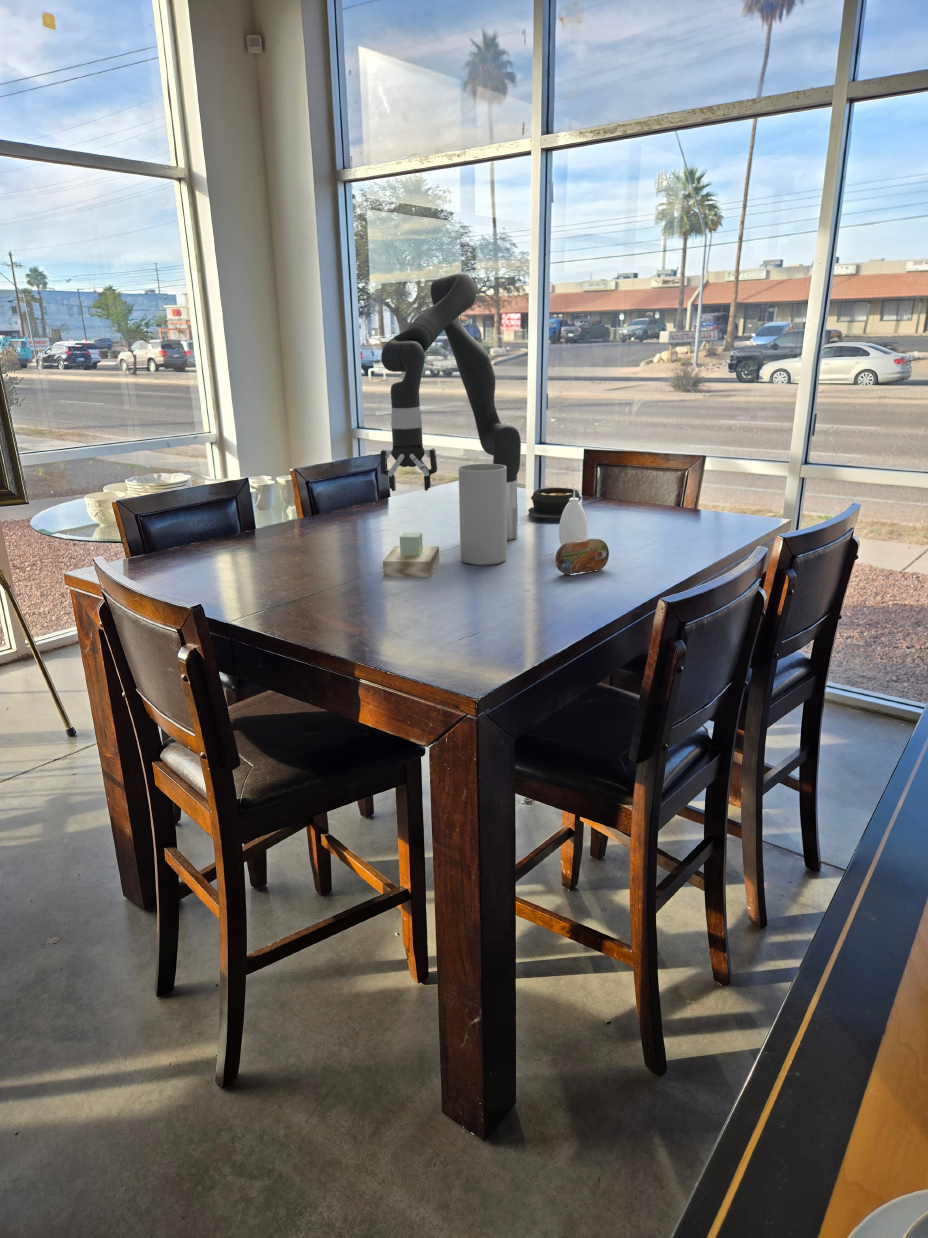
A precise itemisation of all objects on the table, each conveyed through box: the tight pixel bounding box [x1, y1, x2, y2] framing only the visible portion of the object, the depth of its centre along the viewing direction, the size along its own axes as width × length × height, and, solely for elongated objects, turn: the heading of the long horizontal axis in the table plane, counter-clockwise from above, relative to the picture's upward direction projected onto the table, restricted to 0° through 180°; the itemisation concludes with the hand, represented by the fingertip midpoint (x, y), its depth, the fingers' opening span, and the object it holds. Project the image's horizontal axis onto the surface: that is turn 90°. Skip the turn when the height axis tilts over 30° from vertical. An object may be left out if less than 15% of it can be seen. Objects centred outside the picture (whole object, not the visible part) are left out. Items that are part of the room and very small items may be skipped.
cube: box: [399, 532, 424, 556], centre depth 207 cm, size 5×5×5 cm
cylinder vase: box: [458, 463, 508, 566], centre depth 211 cm, size 12×12×25 cm
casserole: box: [527, 487, 582, 519], centre depth 267 cm, size 25×19×8 cm
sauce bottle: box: [558, 488, 589, 546], centre depth 217 cm, size 8×8×18 cm
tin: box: [555, 538, 610, 576], centre depth 201 cm, size 15×3×8 cm, turn 117°
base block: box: [382, 545, 440, 578], centre depth 208 cm, size 12×16×4 cm
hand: (410, 490), depth 204 cm, fingers open, 8 cm apart
